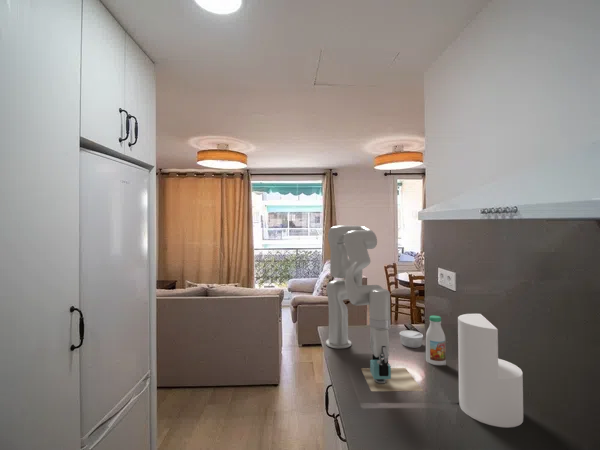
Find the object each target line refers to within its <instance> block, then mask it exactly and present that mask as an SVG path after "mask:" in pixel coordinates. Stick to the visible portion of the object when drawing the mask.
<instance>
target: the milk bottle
mask: <svg viewBox="0 0 600 450" xmlns="http://www.w3.org/2000/svg"><path fill="white" fill-rule="evenodd" d="M428 319H429V326H428V328H427V330H426V332H425V333H426V335H425V361H426V362H427V363H428V364H431V365H433V366H447V365H446V364H447V363H446V362H447V359H446V358H447V355H446V354H447V353H446V350H447V349H446V348H447V347H446V345H447V344H446V334H445V333H444V329H443V327H442V325H441V324H442V317H441V316H440V315H430V316H429V318H428Z"/></svg>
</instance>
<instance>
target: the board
mask: <svg viewBox="0 0 600 450" xmlns="http://www.w3.org/2000/svg"><path fill="white" fill-rule="evenodd" d="M360 370H361V372H362V374H363V376H364V379H365V380H366V383H367V385H368V388H369V389H370V391H371V392H421V391H422V392H423V391H424V389H422V387H421V386H420V385H419V384H418V382H417V381H416V379H415V378H414V377H413V376H412V374H411V373H410V372H409V371H408V369H407V368H406V367H391V379H387V382H386V384H377V383H375V382H374V378H373V376H372V374H371V372H370V367H369V368H368V367H365V368H364V367H362V368H360Z"/></svg>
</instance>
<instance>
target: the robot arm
mask: <svg viewBox="0 0 600 450" xmlns="http://www.w3.org/2000/svg"><path fill="white" fill-rule="evenodd" d="M327 241H328V244H329V249H330V263H329V266H330V267H329V269H330V271H329V272H330V276H331V277H332V278H335V280H331V281H329V282H328V283H327V284H326V295H327V301H328V302H327V303H328V338H327V339H326V340H325V345H326V346H327V347H329V348H333V349H338V350H339V349H341V350H343V349H347V348H349V347H351V346H352V341H351V340H350V339H349V312H348V311H349V310H348V309H349V308H348V306H347V305H346V304H345V302H344V300H349V302H350V304H352V305H353V306H369V308H368V310H369V311H368V312H369V315H368V317H369V318H368V319H369V321H368V322H369V323H368V324H369V325H368V326H369V328H370V332H369V333H370V335H369V336H370V338H369V349H370V351H371V353H372V360H379V361H380V364H379V376H388V375H389V372H388V365H390V363H389V357H390V337H389V330H390V329H391V292H390V290H388V289H386V288H383V287H382V286H381V285H379V284H363V269H365V268H367V267H368V266H369V265H370V264H371V257H370V254H369V252H368V250H373V249H375V248H376V247H377V244H378V238H377V235H376V233H375V232H374V231H373V230H371V229H370V228H367V227H366V226H364V225H363V226H362V225H334V226H332V227H330V228H329V229H328V232H327ZM388 363H389V364H388Z"/></svg>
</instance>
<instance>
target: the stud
mask: <svg viewBox="0 0 600 450" xmlns="http://www.w3.org/2000/svg"><path fill="white" fill-rule="evenodd" d="M374 382H375V383H377V384H386V382H387V379H374Z"/></svg>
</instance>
